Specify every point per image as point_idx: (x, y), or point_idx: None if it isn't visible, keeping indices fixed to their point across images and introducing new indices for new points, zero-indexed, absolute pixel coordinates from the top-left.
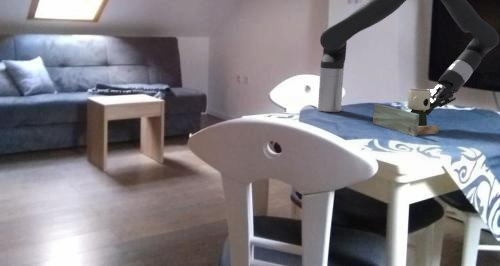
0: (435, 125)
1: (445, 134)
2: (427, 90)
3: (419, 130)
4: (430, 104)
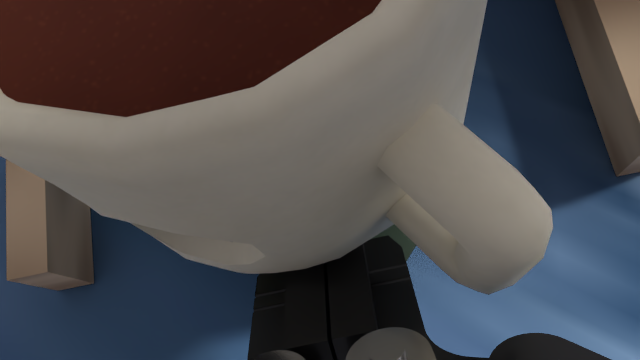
0: (33, 248)
1: (5, 343)
2: (169, 111)
3: None
4: (285, 335)
